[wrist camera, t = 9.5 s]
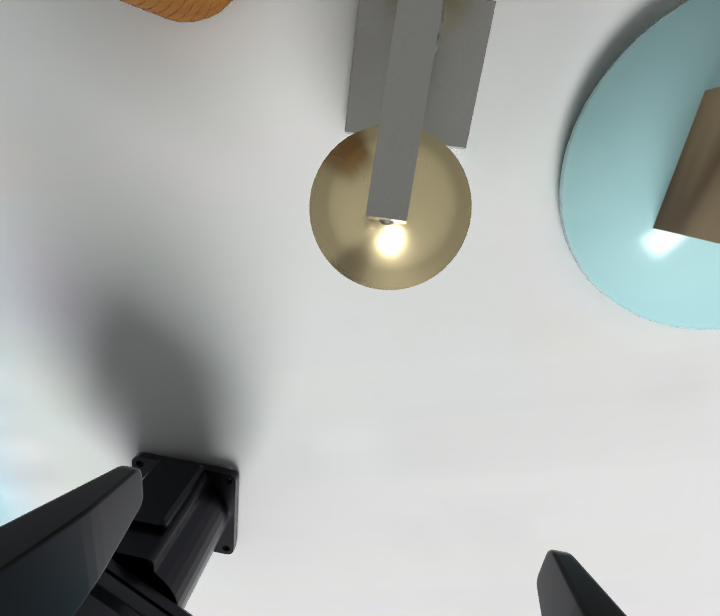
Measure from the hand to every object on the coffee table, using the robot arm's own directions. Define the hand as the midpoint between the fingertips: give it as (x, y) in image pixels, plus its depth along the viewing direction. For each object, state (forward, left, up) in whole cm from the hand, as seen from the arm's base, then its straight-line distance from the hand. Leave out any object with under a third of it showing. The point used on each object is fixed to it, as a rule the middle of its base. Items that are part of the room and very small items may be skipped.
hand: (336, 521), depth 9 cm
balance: (+11, 0, -12) cm, 16 cm away
